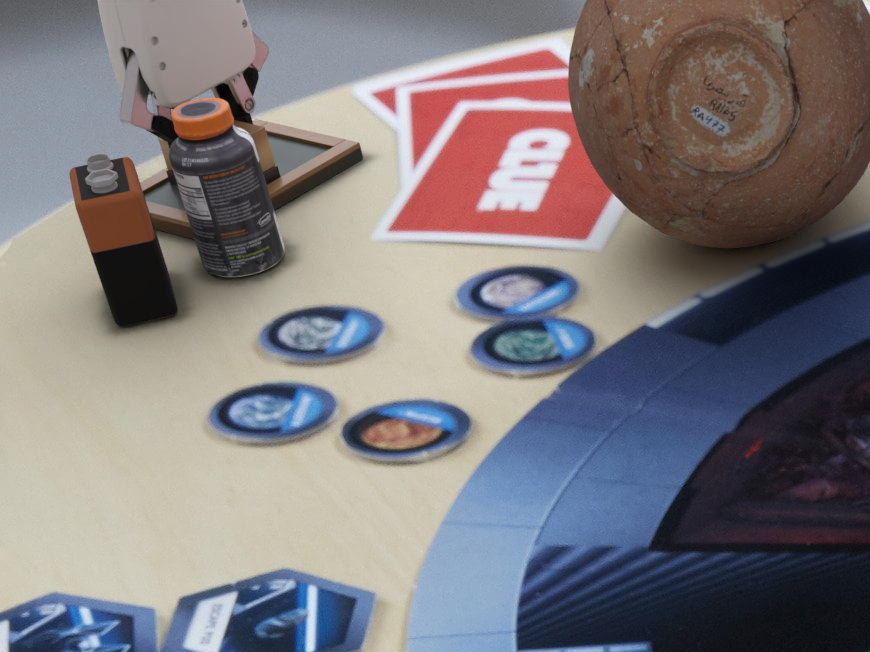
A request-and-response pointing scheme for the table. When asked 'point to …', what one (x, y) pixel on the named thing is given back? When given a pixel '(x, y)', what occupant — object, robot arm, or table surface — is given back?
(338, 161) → the board
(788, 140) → the jug
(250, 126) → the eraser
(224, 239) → the pill bottle
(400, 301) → the table surface
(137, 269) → the battery
